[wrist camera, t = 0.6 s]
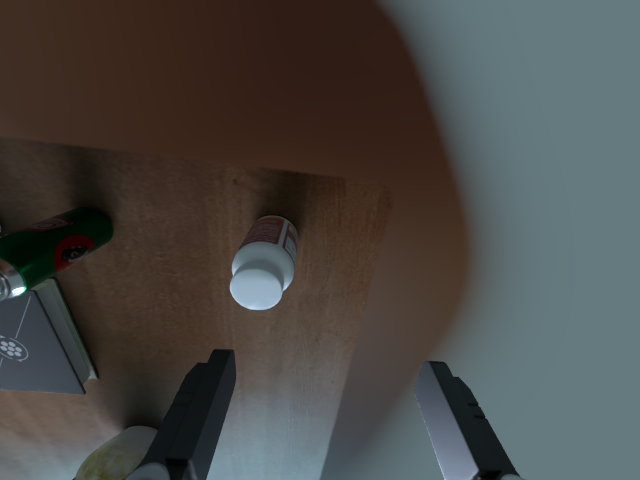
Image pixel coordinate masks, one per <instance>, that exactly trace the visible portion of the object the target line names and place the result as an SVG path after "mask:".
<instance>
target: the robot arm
mask: <svg viewBox="0 0 640 480" xmlns="http://www.w3.org/2000/svg"><path fill="white" fill-rule="evenodd" d="M235 381H236V365H235V354H234V350H231V349H214V350H213V352H212V353H211V356H210V358H209V360H208V362H207V363H197V364H196V365H195V366H194V367H193V368H192V369H191V370H190V371H189V372H188V374H187V375H186V376H185V378H184V380H183V382H182V384H181V386H180V388H179V392H177V394H176V396H175V398H174V400H173V404H171V406H170V408H169V410H168V412H167V414H166V416H165V418H164V420H163V422H162V424H161V426H160V428H159V430H158V432H157V434H156V436H155V438H154V440H153V441H152V443H151V445H150V447H149V449H148V451H147V453H146V455H145V457H144V458H143V460H142V461H141V462H140V464H139V465H138V466H137V467H136V468H135V469H134V470H133V471H132V472H131V473H130V474H129V475H128V476H126V477H125V478H124V479H122V480H206V478H207V475H208V472H209V469H210V465H211V462H212V459H213V456H214V452H215V449H216V446H217V443H218V439H219V436H220V433H221V429H222V426H223V423H224V420H225V416H226V413H227V410H228V407H229V403H230V400H231V397H232V394H233V390H234V387H235ZM415 395H416V399H417V402H418V405H419V407H420V411H421V413H422V416H423V419H424V422H425V425H426V428H427V431H428V433H429V436H430V439H431V442H432V445H433V448H434V451H435V453H436V456H437V459H438V462H439V464H440V468H441V470H442V473H443V476H444V479H445V480H525V479H523V478H521V477H520V476H519V474H518V473H517V472H516V470H515V468H514V467H513V465H512V463H511V461H510V460H509V458H508V456H507V454H506V453H505V451H504V449H503V447H502V445H501V443H500V442H499V440H498V438H497V436H496V435H495V433H494V431H493V429H492V427H491V426H490V424H489V422H488V420H487V419H486V418H485V415H484V413H483V411H482V410H481V408H480V407H479V406H478V402H477V401H476V399H475V397H474V395H473V393H472V392H471V390H470V389H469V388H468V386H467V385H466V384H465V383H464V382H463V381H462V380H461V379H460V378H459V377H453V375H452V373H451V371H450V369H449V368H448V366H447V364H446V363H444V362H437V361H425V362H424V363H423V366H422V368H421V370H420V373H419V376H418V378H417V380H416V383H415Z"/></svg>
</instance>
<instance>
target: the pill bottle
mask: <svg viewBox="0 0 640 480" xmlns="http://www.w3.org/2000/svg"><path fill="white" fill-rule="evenodd" d="M297 246H298V234H297V231H296V229H295V227H294V226H293V224H292V223H291V222H289V221H288V220H287V219H285V218H283V217H279V216H265V217H262V218H260V219H259V220H257V221H256V222H255V223H254V224H253V226H252V227H251V229H250V230H249V232H248V234H247V236H246V237H245V239H244V241H243V243H242V244H241V246H240V248H239V250H238V251H237V253H236V255H235V258H234V260H233V264H232V273H233V278H232V280H231V283H230V291H231V294H232V296H233V298H234V299H235V300H236V301H237V302H238V303H239V304H240V305H242V306H244V307H246V308H249V309H253V310H264V309H268V308H271V307H273V306H274V305H276V304H277V303H278V302H279V300H280V299H281V297H282V293H283V291H284V290H285V289H286V288H287V287H288V286H289V285H290V283H291V281H292V279H293V274H294V267H295V260H296V253H297Z"/></svg>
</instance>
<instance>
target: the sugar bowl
mask: <svg viewBox="0 0 640 480" xmlns="http://www.w3.org/2000/svg"><path fill="white" fill-rule="evenodd" d="M157 432H158V430H157V429H155V428H151V427H147V426H132V427H129V428H127V429H125V430H124V431H123V432H121V433H120V434H118V435H117V436H115V437H114V438H112V439H111V440H109V441H108V442H106V443H105V444H103V445H102V446H100V447H99V448H98V449H96V450H95V451H94V452H93V453H91V454H90V455H89V456H88V457H87V458H86V460H85V461H84V462H83V463H82V465H81V466H80V468H79V470H78V472H77V474H76V477H75V478H74V479H73V480H122V479H124V478H125V477H126V476H128V475H129V474H130V473H131V472H132V471H133V470H134V469H135V468H136V467H137V466H138V465H139V464H140V462H141V461H142V460H143V458H144V457H145V455H146V453H147V451H148V449H149V447H150V445H151V443H152V441H153V440H154V438H155V436H156V434H157Z"/></svg>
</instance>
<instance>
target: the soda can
mask: <svg viewBox="0 0 640 480" xmlns="http://www.w3.org/2000/svg"><path fill="white" fill-rule="evenodd" d="M112 236H113V228H112V225H111V223H110V221H109V220H108V219H107V218H106V217H105V216H104V215H103V214H102V213H100V212H98V211H96V210H94V209H91V208H86V207H78V208H75V209H72V210H69V211H67V212H64V213H61V214H59V215H56V216H54V217H51V218H48V219H46V220H43V221H40V222H38V223H35V224H33V225H30V226H27V227H25V228H22V229H19V230H17V231H14V232H11V233H9V234H6V235H4V236H1V237H0V301H2V300H5V299H6V298H13V297H18V296H20V295H22V294H24V293H25V292H27V291H28V290H30V289H32V288H33V287H35V286H37V285H38V284H40V283H42V282H43V281H45V280H47V279H48V278H50V277H52V276H53V275H55V274H57V273H58V272H60V271H62V270H63V269H65V268H67V267H68V266H70V265H72V264H73V263H75V262H77V261H78V260H80V259H82V258H83V257H85V256H86V255H88V254H90V253H91V252H93V251H95V250H96V249H98V248H100V247H101V246H103V245H105V244H106V243H108V242H109V241H110V240H111V239H112Z"/></svg>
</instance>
